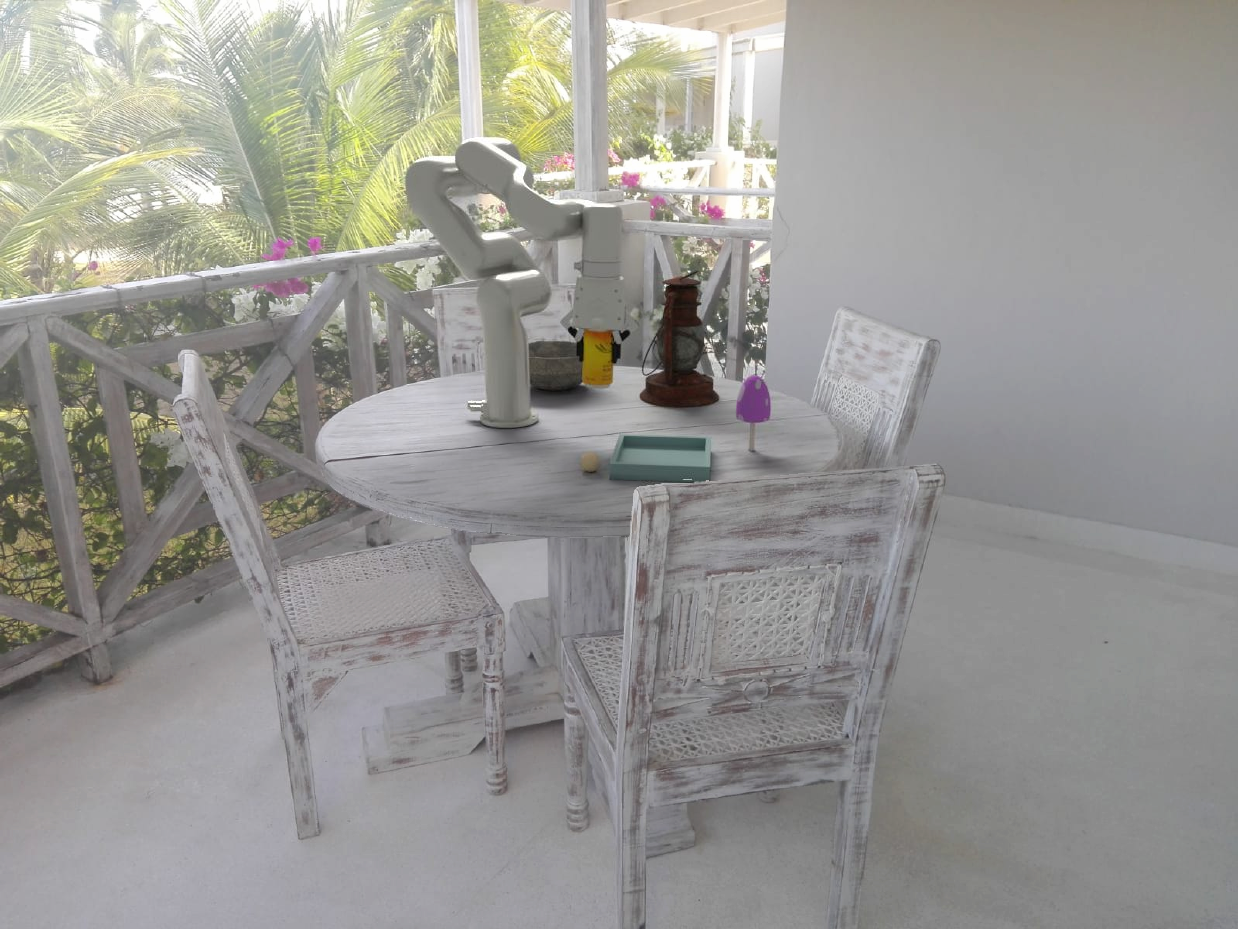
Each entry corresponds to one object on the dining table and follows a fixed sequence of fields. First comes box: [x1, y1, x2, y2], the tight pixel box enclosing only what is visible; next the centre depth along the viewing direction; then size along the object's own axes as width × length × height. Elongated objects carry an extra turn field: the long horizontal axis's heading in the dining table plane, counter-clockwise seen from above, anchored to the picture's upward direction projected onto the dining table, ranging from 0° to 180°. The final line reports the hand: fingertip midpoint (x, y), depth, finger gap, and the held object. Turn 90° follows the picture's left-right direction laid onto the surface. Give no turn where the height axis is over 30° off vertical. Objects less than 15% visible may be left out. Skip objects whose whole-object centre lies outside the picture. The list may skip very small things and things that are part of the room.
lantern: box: [639, 270, 720, 409], centre depth 220 cm, size 19×19×30 cm
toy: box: [735, 374, 772, 452], centre depth 184 cm, size 7×7×15 cm
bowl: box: [528, 340, 583, 391], centre depth 231 cm, size 21×21×10 cm
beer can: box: [582, 316, 615, 390], centre depth 186 cm, size 6×6×15 cm
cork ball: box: [580, 451, 601, 473], centre depth 174 cm, size 4×4×4 cm
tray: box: [608, 433, 712, 483], centre depth 177 cm, size 18×18×3 cm
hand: (598, 360), depth 187 cm, fingers closed on beer can, 6 cm apart
